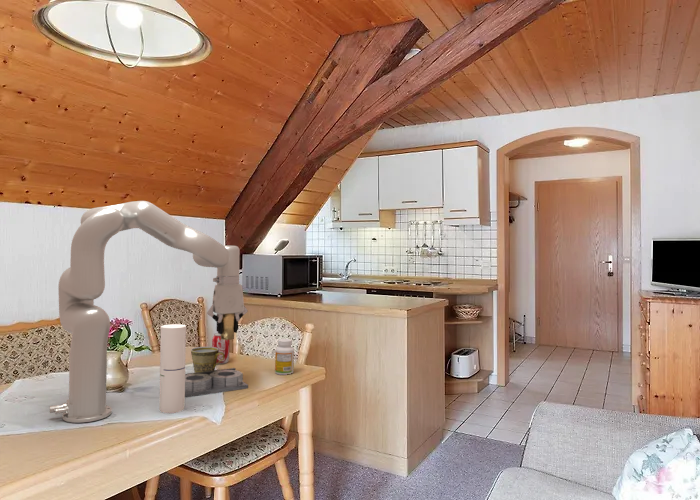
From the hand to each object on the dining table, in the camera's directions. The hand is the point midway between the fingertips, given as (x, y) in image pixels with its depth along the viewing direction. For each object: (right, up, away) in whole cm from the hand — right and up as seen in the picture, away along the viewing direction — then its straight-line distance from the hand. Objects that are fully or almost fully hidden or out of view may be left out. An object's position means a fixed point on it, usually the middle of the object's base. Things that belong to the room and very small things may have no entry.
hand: (227, 332), depth 178 cm
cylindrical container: (-10, -19, -26) cm, 34 cm away
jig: (-5, -19, -3) cm, 20 cm away
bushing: (0, -2, 0) cm, 2 cm away
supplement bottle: (+17, -19, +19) cm, 32 cm away
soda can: (-11, -18, +33) cm, 39 cm away
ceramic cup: (-10, -19, +12) cm, 24 cm away
